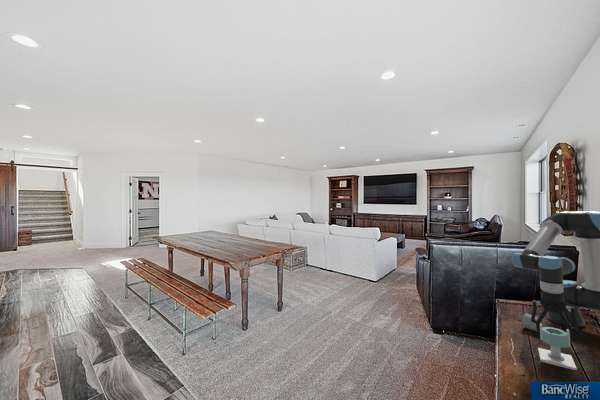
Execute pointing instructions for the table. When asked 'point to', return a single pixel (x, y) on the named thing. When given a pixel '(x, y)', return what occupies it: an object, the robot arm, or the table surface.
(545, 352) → the plate with round peg
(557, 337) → the ring
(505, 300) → the table surface
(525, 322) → the ceramic mug
